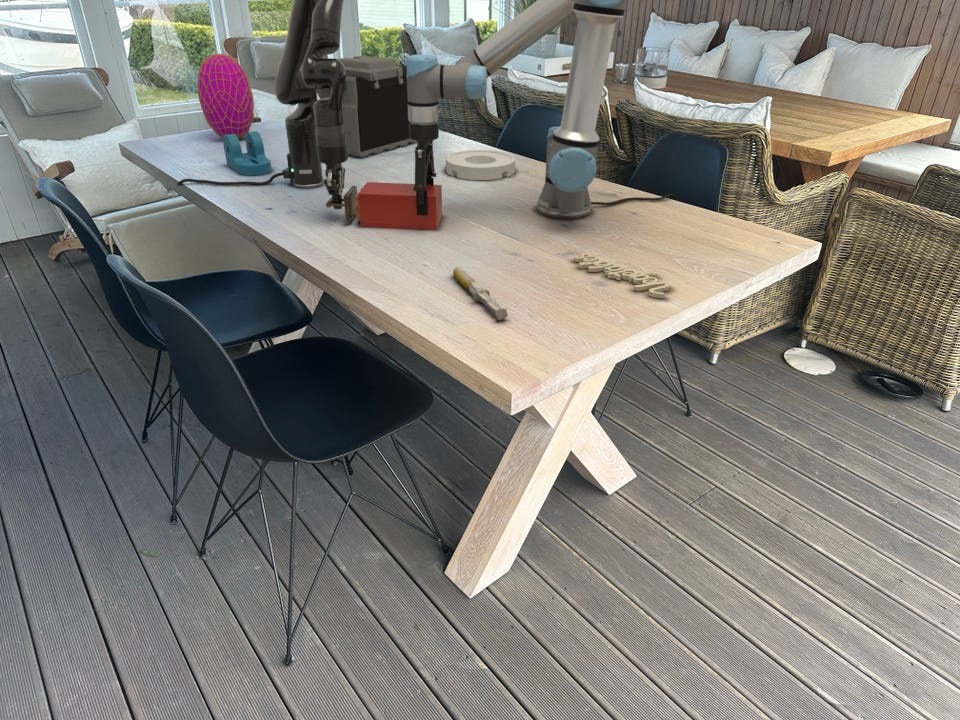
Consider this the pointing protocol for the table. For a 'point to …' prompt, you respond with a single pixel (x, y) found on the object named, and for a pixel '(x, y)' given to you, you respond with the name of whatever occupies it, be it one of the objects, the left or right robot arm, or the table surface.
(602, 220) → the table surface
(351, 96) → the cooler box
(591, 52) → the right robot arm
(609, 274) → the decorative sign
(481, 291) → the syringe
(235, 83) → the decorative egg
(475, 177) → the ashtray
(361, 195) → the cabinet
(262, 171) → the camera mount
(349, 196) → the drawer
